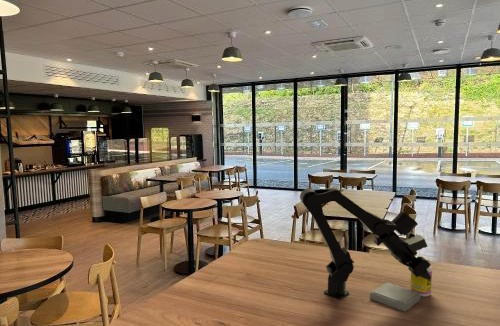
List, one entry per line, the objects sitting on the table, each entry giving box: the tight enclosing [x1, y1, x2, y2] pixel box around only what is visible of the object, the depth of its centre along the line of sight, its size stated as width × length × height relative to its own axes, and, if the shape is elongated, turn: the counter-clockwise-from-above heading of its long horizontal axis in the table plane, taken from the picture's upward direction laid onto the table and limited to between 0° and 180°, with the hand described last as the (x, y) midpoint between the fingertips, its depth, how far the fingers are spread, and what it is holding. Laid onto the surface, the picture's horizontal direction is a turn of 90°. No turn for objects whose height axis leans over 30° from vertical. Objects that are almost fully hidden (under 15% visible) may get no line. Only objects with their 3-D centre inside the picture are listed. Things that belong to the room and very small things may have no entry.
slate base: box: [369, 281, 422, 312], centre depth 122 cm, size 12×12×2 cm
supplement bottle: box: [409, 254, 433, 298], centre depth 126 cm, size 7×7×13 cm
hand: (425, 274), depth 126 cm, fingers closed on supplement bottle, 7 cm apart
